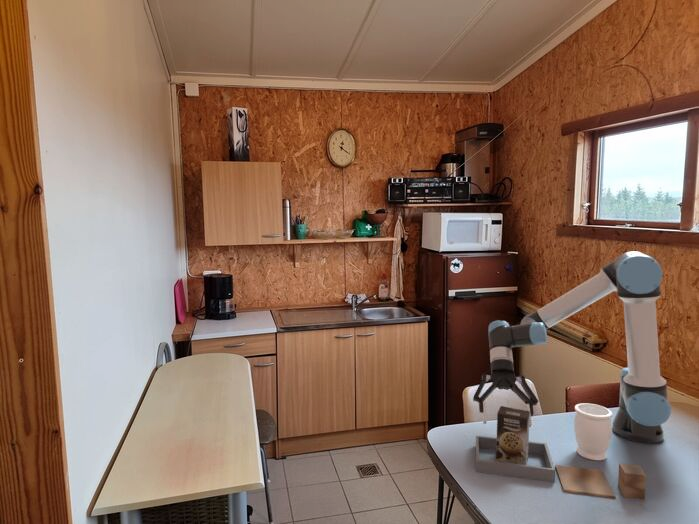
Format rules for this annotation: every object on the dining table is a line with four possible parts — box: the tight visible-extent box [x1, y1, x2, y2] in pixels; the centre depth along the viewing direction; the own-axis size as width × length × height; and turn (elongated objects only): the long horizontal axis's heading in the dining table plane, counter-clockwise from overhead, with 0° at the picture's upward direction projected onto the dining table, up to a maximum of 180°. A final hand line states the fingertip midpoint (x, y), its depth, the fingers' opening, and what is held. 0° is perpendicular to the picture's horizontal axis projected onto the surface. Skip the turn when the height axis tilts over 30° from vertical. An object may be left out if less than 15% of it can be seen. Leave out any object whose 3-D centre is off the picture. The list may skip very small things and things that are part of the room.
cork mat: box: [554, 464, 616, 499], centre depth 131 cm, size 13×13×1 cm
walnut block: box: [617, 462, 647, 501], centre depth 125 cm, size 5×5×7 cm
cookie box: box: [495, 405, 530, 465], centre depth 142 cm, size 9×6×16 cm
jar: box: [573, 402, 613, 461], centre depth 145 cm, size 11×10×15 cm
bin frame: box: [475, 435, 556, 483], centre depth 142 cm, size 22×16×4 cm
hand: (507, 424), depth 145 cm, fingers open, 13 cm apart
